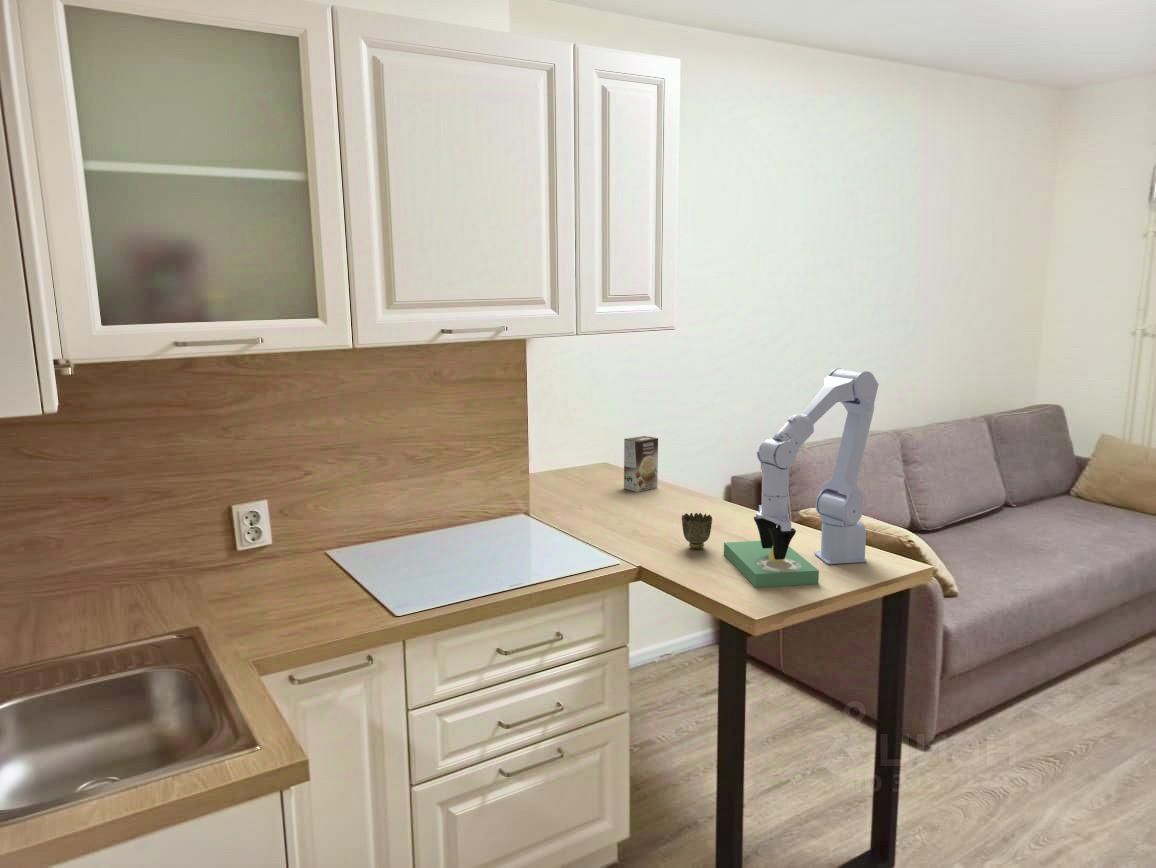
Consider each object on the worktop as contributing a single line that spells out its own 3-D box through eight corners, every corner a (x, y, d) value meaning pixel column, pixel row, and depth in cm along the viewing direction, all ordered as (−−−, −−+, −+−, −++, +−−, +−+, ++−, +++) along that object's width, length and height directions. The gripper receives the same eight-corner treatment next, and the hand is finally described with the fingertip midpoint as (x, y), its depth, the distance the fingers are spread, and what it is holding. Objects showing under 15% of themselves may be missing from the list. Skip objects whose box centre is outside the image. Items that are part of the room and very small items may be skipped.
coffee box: (637, 492, 257) (637, 441, 254) (623, 488, 261) (623, 438, 259) (658, 487, 262) (658, 437, 259) (644, 484, 267) (644, 435, 264)
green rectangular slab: (780, 551, 199) (780, 539, 199) (818, 583, 178) (818, 570, 177) (723, 554, 197) (724, 542, 197) (755, 587, 176) (755, 574, 175)
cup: (711, 553, 198) (711, 521, 197) (680, 552, 200) (680, 519, 198) (712, 544, 205) (713, 512, 204) (682, 542, 207) (682, 511, 205)
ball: (788, 564, 182) (780, 555, 185) (788, 551, 180) (781, 542, 184) (772, 568, 181) (765, 559, 185) (773, 555, 180) (766, 545, 183)
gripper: (746, 486, 188) (745, 544, 191) (769, 503, 174) (767, 565, 177) (776, 485, 189) (774, 542, 192) (801, 501, 175) (799, 563, 178)
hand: (773, 553), depth 184 cm, fingers open, 7 cm apart
